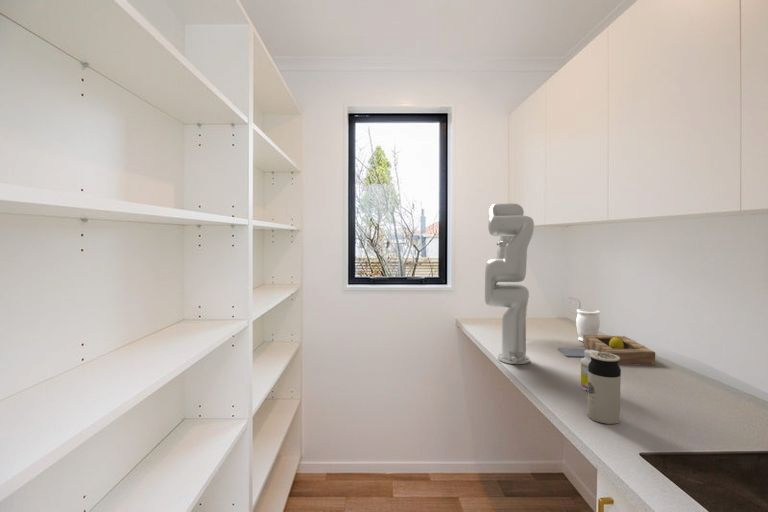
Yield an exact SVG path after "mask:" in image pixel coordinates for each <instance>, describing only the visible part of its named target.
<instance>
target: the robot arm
mask: <svg viewBox="0 0 768 512" xmlns="http://www.w3.org/2000/svg"><path fill="white" fill-rule="evenodd" d="M524 213H525V211H524V208H523V207H522V206H521V205H520V204H518V203H513V202H511V203H494V204H492V205H491V206H490V207H489V209H488V213H487V219H488V222H487V223H488V224H487V225H488V227H487V228H488V232H489V234H490V235H491V236H493V237H499V242H496V246H498V248H497V250H496V251H497V252H496V258H491V259H489V260H488V261H487V262H486V265H485V269H484V270H485V271H484V273H485V274H484V302H485V304H486V305H487V306H488V307H493V308H508V309H507V310H506V311H505V312H504V313H503V315H502V317H501V322H502V323H501V353H499V354H498V355H497V359H498V361H500V362H502V363H506V364H510V365H525V364H528V363H530V360H531V358H530V357H529V356H527V355H526V353H527V347H526V346H527V312H528V311H527V310H528V305H529V304H528V303H529V297H530V293H529V289H528V287H526V286H525V285H522V284H515V283H521V282H523V281H525V278H526V275H527V257H528V248H529V245H530V242H531V240H532V237H533V235H534V228H535V222H534V219H533V218H532V217H531V216H529V215H524ZM499 283H500V284H499ZM504 283H506V284H504ZM510 283H511V284H510ZM512 283H513V284H512Z"/></svg>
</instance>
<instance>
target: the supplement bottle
mask: <svg viewBox="0 0 768 512" xmlns="http://www.w3.org/2000/svg"><path fill="white" fill-rule="evenodd" d="M592 352H599V351H595V350H588V349H587V350H585V351H584V355H585V357H584V358H582V357H581V360H580V387H581V389H582V390H583V391H586V390H587V392H588V365H589V363H590V362H591V357H590V353H592Z"/></svg>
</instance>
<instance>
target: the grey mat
mask: <svg viewBox="0 0 768 512" xmlns="http://www.w3.org/2000/svg"><path fill="white" fill-rule="evenodd" d="M557 350H558V351H559V352H560V354H562V353H563V354H564V357H566V358H582V357H585V355H584V351H585V350H588V349H587V348H582V347H581V348H580V347H557ZM563 354H562V355H563Z"/></svg>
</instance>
